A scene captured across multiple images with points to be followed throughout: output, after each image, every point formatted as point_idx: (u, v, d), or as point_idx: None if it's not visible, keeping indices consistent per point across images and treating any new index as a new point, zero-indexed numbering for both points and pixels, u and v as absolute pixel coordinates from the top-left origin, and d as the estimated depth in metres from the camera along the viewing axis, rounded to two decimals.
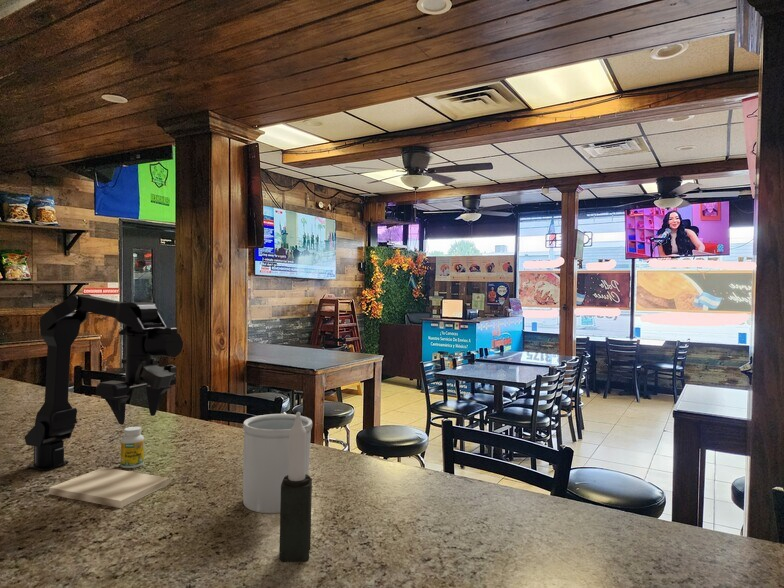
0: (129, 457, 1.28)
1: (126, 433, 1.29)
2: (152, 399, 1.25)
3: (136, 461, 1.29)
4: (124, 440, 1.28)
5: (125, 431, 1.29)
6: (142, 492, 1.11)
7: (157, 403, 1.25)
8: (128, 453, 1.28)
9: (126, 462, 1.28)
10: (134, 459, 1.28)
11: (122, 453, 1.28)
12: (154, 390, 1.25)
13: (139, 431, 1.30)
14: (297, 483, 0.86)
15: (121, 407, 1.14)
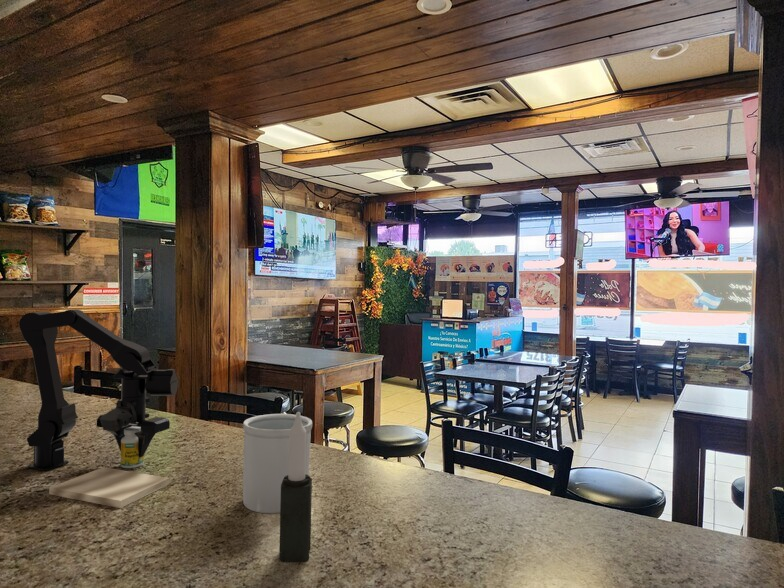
0: (129, 457, 1.28)
1: (126, 433, 1.29)
2: None
3: (136, 461, 1.29)
4: (124, 440, 1.28)
5: (125, 431, 1.29)
6: (142, 492, 1.11)
7: (139, 446, 1.29)
8: (128, 453, 1.28)
9: (126, 462, 1.28)
10: (134, 459, 1.28)
11: (122, 453, 1.28)
12: None
13: None
14: (297, 483, 0.86)
15: (116, 438, 1.31)
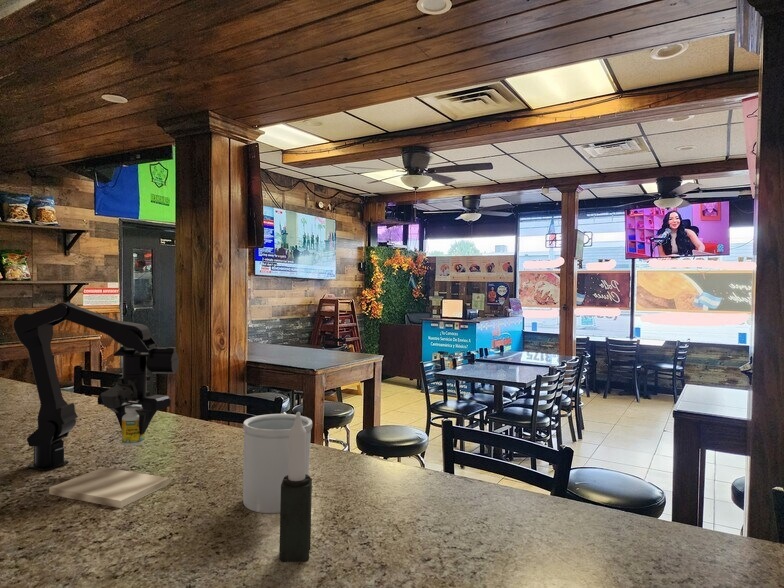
0: (130, 434, 1.28)
1: (127, 410, 1.29)
2: None
3: (137, 438, 1.29)
4: (125, 417, 1.28)
5: (126, 408, 1.29)
6: (142, 492, 1.11)
7: (140, 423, 1.29)
8: (129, 430, 1.28)
9: (127, 439, 1.28)
10: (134, 436, 1.28)
11: (123, 430, 1.28)
12: None
13: None
14: (297, 483, 0.86)
15: (117, 416, 1.31)
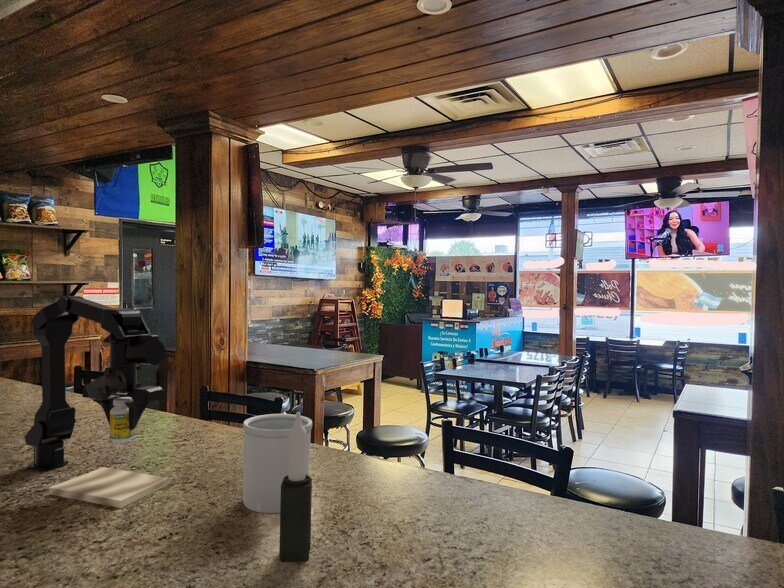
0: (119, 429, 1.16)
1: (115, 403, 1.17)
2: None
3: (127, 434, 1.17)
4: (114, 411, 1.17)
5: (114, 401, 1.17)
6: (142, 492, 1.11)
7: (130, 417, 1.17)
8: (117, 425, 1.16)
9: (115, 435, 1.16)
10: (124, 431, 1.17)
11: (111, 425, 1.17)
12: None
13: None
14: (297, 483, 0.86)
15: (104, 410, 1.19)
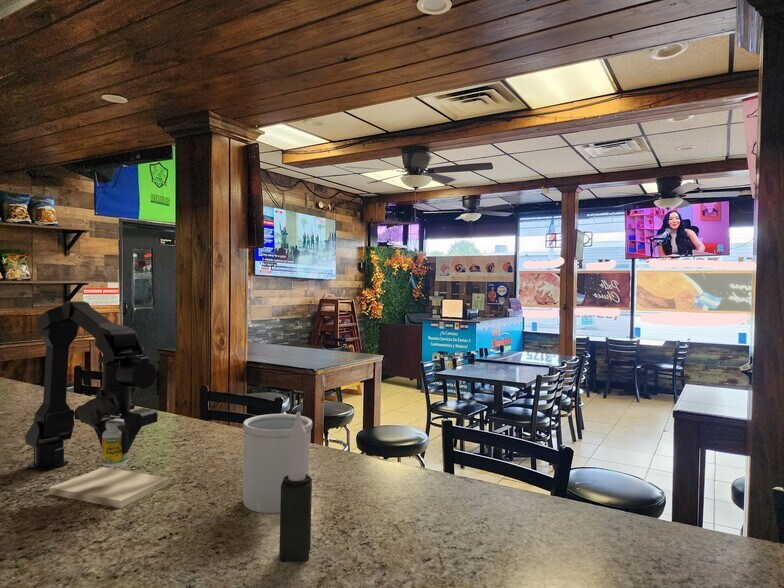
0: (111, 453, 1.12)
1: (108, 426, 1.13)
2: None
3: (119, 458, 1.13)
4: (106, 434, 1.12)
5: (107, 424, 1.13)
6: (142, 492, 1.11)
7: (122, 441, 1.13)
8: (109, 449, 1.12)
9: (107, 459, 1.12)
10: (116, 456, 1.13)
11: (103, 449, 1.12)
12: None
13: None
14: (297, 483, 0.86)
15: (96, 432, 1.15)
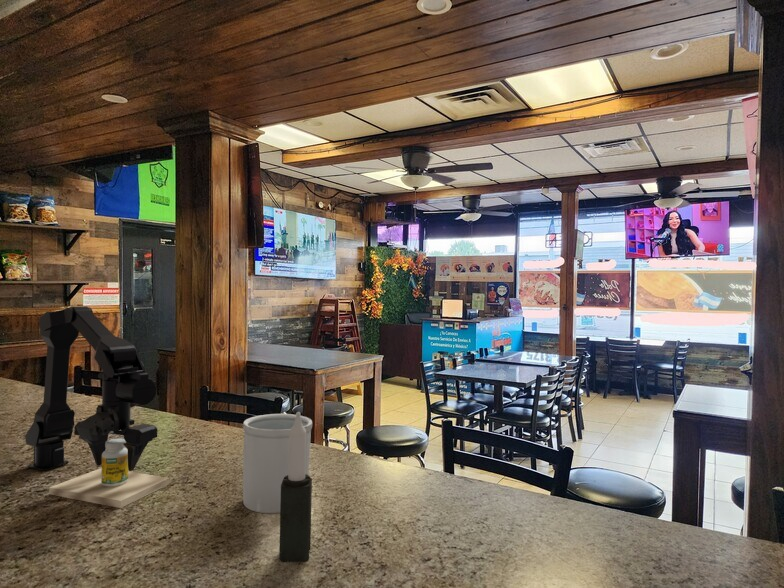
0: (111, 474, 1.12)
1: (107, 446, 1.13)
2: None
3: (119, 478, 1.13)
4: (106, 454, 1.12)
5: (106, 444, 1.13)
6: (142, 492, 1.11)
7: (128, 458, 1.12)
8: (109, 469, 1.12)
9: (107, 479, 1.12)
10: (116, 476, 1.13)
11: (103, 469, 1.12)
12: None
13: None
14: (297, 483, 0.86)
15: (90, 447, 1.15)
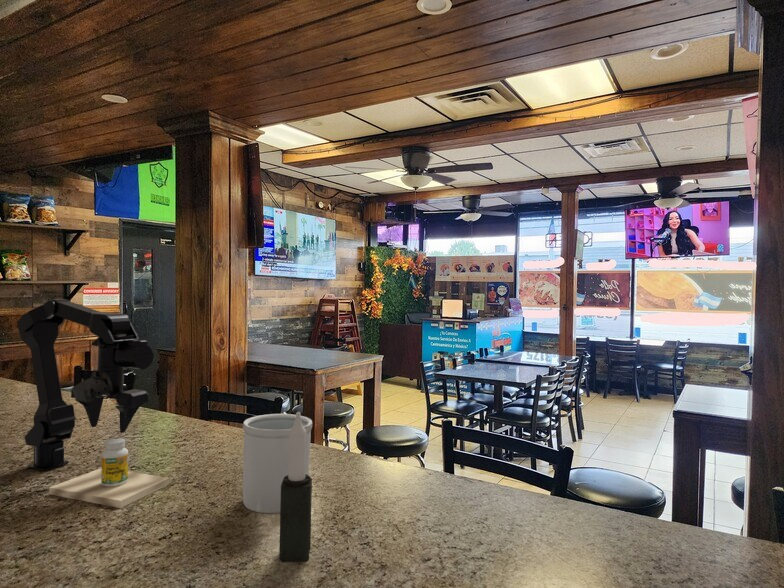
0: (111, 474, 1.12)
1: (107, 446, 1.13)
2: None
3: (119, 478, 1.13)
4: (105, 454, 1.12)
5: (106, 444, 1.13)
6: (142, 492, 1.11)
7: (120, 420, 1.20)
8: (109, 469, 1.12)
9: (107, 479, 1.12)
10: (116, 476, 1.13)
11: (103, 469, 1.12)
12: None
13: (122, 444, 1.14)
14: (297, 483, 0.86)
15: None
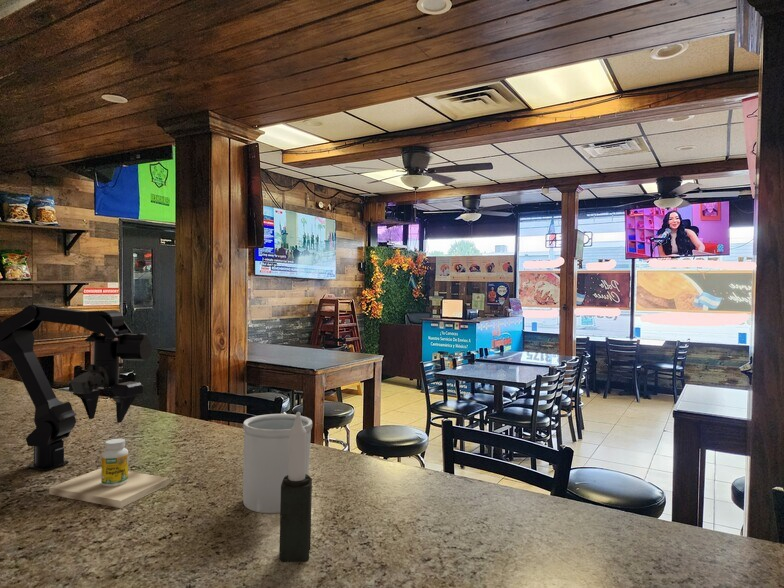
0: (111, 474, 1.12)
1: (107, 446, 1.13)
2: None
3: (119, 478, 1.13)
4: (105, 454, 1.12)
5: (106, 444, 1.13)
6: (142, 492, 1.11)
7: (117, 411, 1.26)
8: (109, 469, 1.12)
9: (107, 479, 1.12)
10: (116, 476, 1.13)
11: (103, 469, 1.12)
12: None
13: (122, 444, 1.14)
14: (297, 483, 0.86)
15: (83, 402, 1.29)
